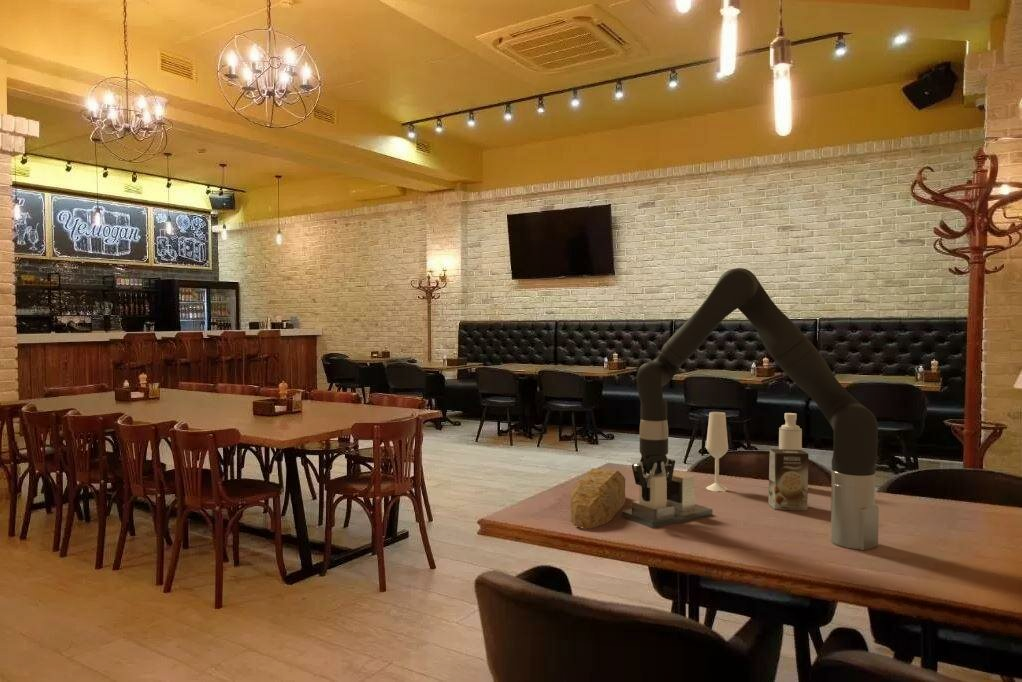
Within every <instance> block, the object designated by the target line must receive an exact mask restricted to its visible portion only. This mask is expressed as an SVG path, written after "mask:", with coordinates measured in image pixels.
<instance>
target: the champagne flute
mask: <svg viewBox="0 0 1022 682" xmlns="http://www.w3.org/2000/svg"><path fill="white" fill-rule="evenodd" d="M726 418H727V417H726V412H723V411H722V412H721V411H711V412H709V415H708V425H707V433H706V444H705V445H706V446H705V449H706V450H707V452H708V453H709V454H710V455H711V457H713V458H714V483H712V484H710V485H708V486H706V488H705V489H706V490H708V491H711V492H718V491H722V492H727V491H728V490H727V489H728V488H727V487H726V486H724V485H723V484H721V483H720V459H721V458H722V457H723V456H724V455H726V453H727V452H728V450H729V442H728V440H729V439H728V429H727V428H728V427H727V419H726ZM726 490H727V491H726Z"/></svg>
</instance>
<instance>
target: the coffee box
mask: <svg viewBox="0 0 1022 682" xmlns="http://www.w3.org/2000/svg"><path fill="white" fill-rule="evenodd" d="M809 455H810V454H809V453H808V452H806V451H804V450H789V449H779V448H769V467H768V468H769V470H768V473H769V474H768V502H767V503H768V504H769V506H771V508H772V509H773V510H784V511H786V510H787V511H788V510H789V511H808V499H809V498H808V497H809V495H808V493H809V489H808V488H809Z"/></svg>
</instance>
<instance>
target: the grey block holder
mask: <svg viewBox="0 0 1022 682" xmlns="http://www.w3.org/2000/svg"><path fill="white" fill-rule="evenodd" d="M667 476H668V474H667ZM695 476H696V475H692V474H688V473H685V472H680V471H676V472H673V476H672V480H671V482H667V484H666V507H663V508H658V509H654V508H651V507H649V506H646V505H643V504H640V499H638V500H634V501H631V508H629V509H625V510H621V517H622V518H625V519H627V518H628V520H631V521H632V522H635V523H639V524H641V525H644V526H646V527H648V526H649V528H652V529H654V527H655V528H658V527H663V526H667V525H672V524H677V523H682V522H686V521H691V520H696V519H699V518H705V517H709V516H713V509H712V508H709V507H706V506H703V505H699V504H696V502H695V501H696V500H695V495H696V494H695V493H696V491H695V490H696V489H695V488H696V487H695V482H696V481H695V480H696V477H695Z"/></svg>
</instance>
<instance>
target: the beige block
mask: <svg viewBox="0 0 1022 682" xmlns="http://www.w3.org/2000/svg"><path fill="white" fill-rule="evenodd" d="M646 474H647V473H646ZM647 475H649V474H647ZM646 481H647V478H645V482H646ZM649 488H650V501H648V502H647V501H644V500H643V499H642V487H641V486H640V485H639V500H640V504H643V505H646V506H649V507H651V508H654V509H658V508H663V507H666V502H667V484H666V476H664V475H660V474H655V475H654V477H652V479H651V480H650V487H649Z"/></svg>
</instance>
